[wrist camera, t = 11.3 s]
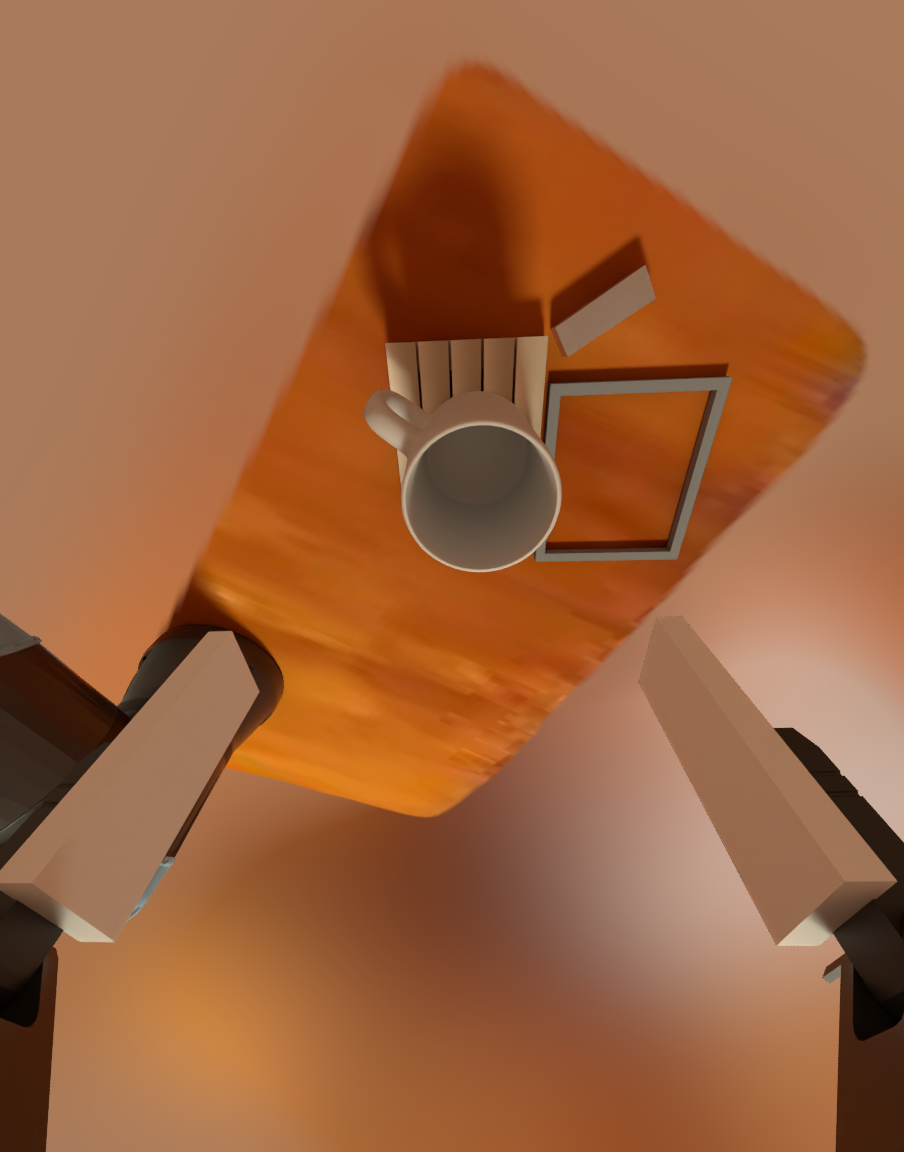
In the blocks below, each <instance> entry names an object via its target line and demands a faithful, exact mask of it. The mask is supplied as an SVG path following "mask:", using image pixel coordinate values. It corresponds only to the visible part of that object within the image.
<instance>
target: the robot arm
mask: <svg viewBox="0 0 904 1152" xmlns="http://www.w3.org/2000/svg"><path fill="white" fill-rule="evenodd" d="M41 641H42V640H41V639H40V638H38V637H36V636H31V635H29V634H28V633H26V632H25V631H24V630H22V629H21V628H19V627H18V626H17V625H15V624H14V623H13V622H11V621H10V620H8V619H7V618H6V617H4V616H3V615H1V614H0V1152H46V1138H47V1122H48V1108H49V1092H50V1076H51V1060H52V1046H53V1031H54V1016H55V1001H56V1000H55V999H56V985H57V970H58V956H57V951H56V948H54V947H53V945H54V944H55V942H56V941H57V939H58V938H59V936H60V935H61V933H62V932H65V933H67V934H68V935H70V936H71V937H73V938H75V939H76V940H78V941H79V942H116V940H117V938H118V936H119V935H120V933H121V931H122V929H123V928H124V926H125V924H126V923H127V921H128V920H129V919H131V918H132V917H133V916H135V915H136V914H137V913H138V912H139V911H140V910H141V908H143V906H144V905H145V904H146V902H147V901H148V899H149V897H150V896H151V894H152V893H153V891H154V890H155V888H156V887H157V885H158V884H159V882H160V880H161V879H162V877H163V876H164V874H165V873H166V871H167V870H168V868H169V867H170V866H171V865H172V864H173V863H174V861H175V856H176V854H177V852H178V851H179V849H180V847H181V845H182V843H183V841H184V840H185V838H186V836H187V834H188V832H189V831H190V829H191V827H192V825H193V823H194V822H195V820H196V818H197V816H198V814H199V813H200V811H201V809H202V807H203V805H204V804H205V802H206V800H207V798H208V796H209V795H210V793H211V791H212V789H213V788H214V786H215V784H216V782H217V780H218V778H219V777H220V775H221V773H222V771H223V770H224V768H225V766H226V764H227V763H228V761H229V759H230V757H231V756H232V754H233V752H234V751H235V750H236V749H237V748H238V747H239V746H240V745H241V744H242V743H243V742H244V741H245V740H246V739H247V738H248V737H249V736H250V735H251V734H252V733H253V732H254V731H255V730H256V729H257V727H258V726H260V725H261V724H263V723H264V722H265V721H266V720H267V719H268V718H269V717H270V716H271V715H272V713H273V712H274V710H275V708H276V706H277V704H278V703H279V701H280V699H281V697H282V694H283V689H284V683H283V678H282V675H281V672H280V670H279V668H278V667H277V665H276V664H275V662H274V661H273V660H272V658H271V657H270V656H269V655H268V654H267V653H266V652H265V651H264V650H262V649H261V648H260V647H259V646H257V645H256V644H254V643H253V642H251V641H250V640H248V639H246V638H244V637H242V636H240V635H238V634H236V633H233V632H232V631H228V630H225V629H221V628H217V627H212V626H206V625H186V626H180V627H177V628H174V629H171V630H169V631H167V632H165V633H164V634H163V635H161V636H160V637H159V638H158V639H157V640H156V641H155V642H154V643H153V644H152V645H151V646H150V647H149V648H148V649H147V650H146V652H145V653H144V655H143V656H142V658H141V660H140V663H139V667H138V671H137V673H136V674H135V676H134V677H133V679H132V681H131V683H130V685H129V687H128V689H127V691H126V693H125V695H124V697H123V699H122V701H121V702H120V704H119V705H118V706H116V705H115V704H114V703H112V702H111V701H110V700H108V699H107V698H106V697H105V696H103V695H102V694H101V693H100V692H98V691H97V690H96V689H95V688H93V687H92V686H91V685H90V684H88V683H87V682H86V681H84V680H83V679H82V678H80V676H78V675H77V674H76V673H75V672H74V671H72V670H71V669H70V668H69V667H68V666H66V665H65V664H64V663H63V662H62V661H60V660H59V659H58V658H57V657H56V656H54V655H53V654H52V653H51V652H50V651H48V650H47V649H46V648H45V647H43V646H42V645H41V644H40V642H41ZM639 684H640V686H641V688H642V690H643V692H644V694H645V695H646V697H647V699H648V701H649V703H650V705H651V707H652V709H653V711H654V713H655V715H656V717H657V718H658V720H659V722H660V724H661V726H662V728H663V730H664V732H665V734H666V736H667V737H668V740H669V741H670V743H671V745H672V747H673V749H674V751H675V753H676V755H677V757H678V759H679V761H680V762H681V764H682V766H683V768H684V770H685V772H686V774H687V776H688V777H689V779H690V782H691V783H692V785H693V787H694V789H695V791H696V793H697V795H698V797H699V799H700V801H701V802H702V804H703V806H704V808H705V810H706V812H707V814H708V816H709V818H710V820H711V821H712V823H713V825H714V827H715V829H716V831H717V833H718V835H719V837H720V839H721V841H722V843H723V844H724V846H725V848H726V850H727V852H728V854H729V856H730V858H731V859H732V862H733V864H734V865H735V867H736V869H737V871H738V873H739V875H740V877H741V879H742V881H743V883H744V884H745V886H746V888H747V890H748V892H749V894H750V896H751V898H752V900H753V902H754V904H755V905H756V908H757V909H758V911H759V913H760V915H761V917H762V919H763V921H764V923H765V925H766V927H767V929H768V931H769V932H770V934H771V936H772V938H773V940H774V942H775V944H776V945H777V946H819V945H820V944H821V943H823V942H824V941H825V940H826V939H828V938H829V937H830V936H831V935H832V934H834V935H835V937H836V938H837V940H838V942H839V944H840V945H841V947H842V948H843V950H844V951H845V954H844V955H842V956H841V957H839V958H838V959H837V960H835V961H834V962H833V963H831V964H830V965H828V966H827V967H826V969H825V972H824V975H823V977H822V978H823V979H825V980H826V981H828V982H829V983H831V982H833V981H834V980H836V979H837V978H839V977H840V976H841V984H840V986H841V987H840V1019H839V1020H840V1021H839V1054H838V1055H839V1057H838V1090H837V1125H836V1152H904V842H903V841H902V840H901V839H900V838H899V837H898V836H897V835H896V833H895V832H894V831H893V830H892V829H891V828H890V827H889V826H888V824H887V823H886V822H885V821H884V820H883V819H882V818H881V817H880V815H879V814H878V813H877V812H876V811H875V810H874V809H873V807H872V806H871V805H870V804H869V803H868V802H867V801H866V800H865V798H863V796H859V795H858V791H857V789H856V788H855V787H854V786H853V785H852V784H851V783H850V782H849V780H848V779H847V778H846V777H845V776H842V775H841V774H840V770H839V769H838V768H837V767H836V766H835V765H834V764H833V762H832V761H831V760H830V759H829V758H828V757H827V756H826V754H825V753H824V752H823V751H822V750H821V749H820V748H819V747H818V746H817V745H815V744H814V743H813V742H811V741H810V740H808V739H807V738H806V737H804V736H803V735H802V734H800V733H799V732H797V731H796V730H795V729H794V728H773V727H772V726H771V725H770V723H769V722H768V721H767V720H766V719H765V717H764V716H763V715H762V714H761V712H760V711H759V710H758V709H757V708H756V706H755V705H754V704H753V703H752V701H751V700H750V699H749V698H748V696H747V695H746V694H745V693H744V692H743V690H742V689H741V688H740V686H739V685H738V684H737V683H736V682H735V680H734V679H733V678H732V677H731V675H730V674H729V673H728V672H727V670H726V669H725V668H724V667H723V666H722V664H721V663H720V662H719V661H718V659H717V658H716V657H715V656H714V654H713V653H712V652H711V651H710V649H709V648H708V647H707V646H706V645H705V643H704V642H703V641H702V640H701V638H700V637H699V636H698V635H697V634H696V632H695V631H694V630H693V629H692V628H691V626H690V625H689V624H688V622H687V621H686V620H685V619H684V617H683V616H667V617H656V619H655V623H654V627H653V631H652V634H651V638H650V641H649V645H648V649H647V652H646V656H645V660H644V664H643V667H642V671H641V674H640V678H639Z"/></svg>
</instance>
